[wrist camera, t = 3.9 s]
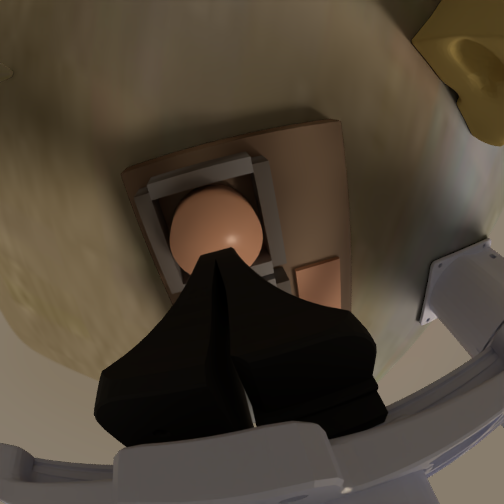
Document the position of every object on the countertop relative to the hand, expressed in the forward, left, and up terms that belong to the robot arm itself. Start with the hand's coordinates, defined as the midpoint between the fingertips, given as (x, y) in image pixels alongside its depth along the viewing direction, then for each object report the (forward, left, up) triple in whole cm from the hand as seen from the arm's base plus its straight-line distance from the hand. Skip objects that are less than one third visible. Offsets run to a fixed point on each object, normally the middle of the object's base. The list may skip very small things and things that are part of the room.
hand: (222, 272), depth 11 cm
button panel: (-2, +7, -7) cm, 10 cm away
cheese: (-22, -9, -7) cm, 25 cm away
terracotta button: (0, 0, -5) cm, 5 cm away
